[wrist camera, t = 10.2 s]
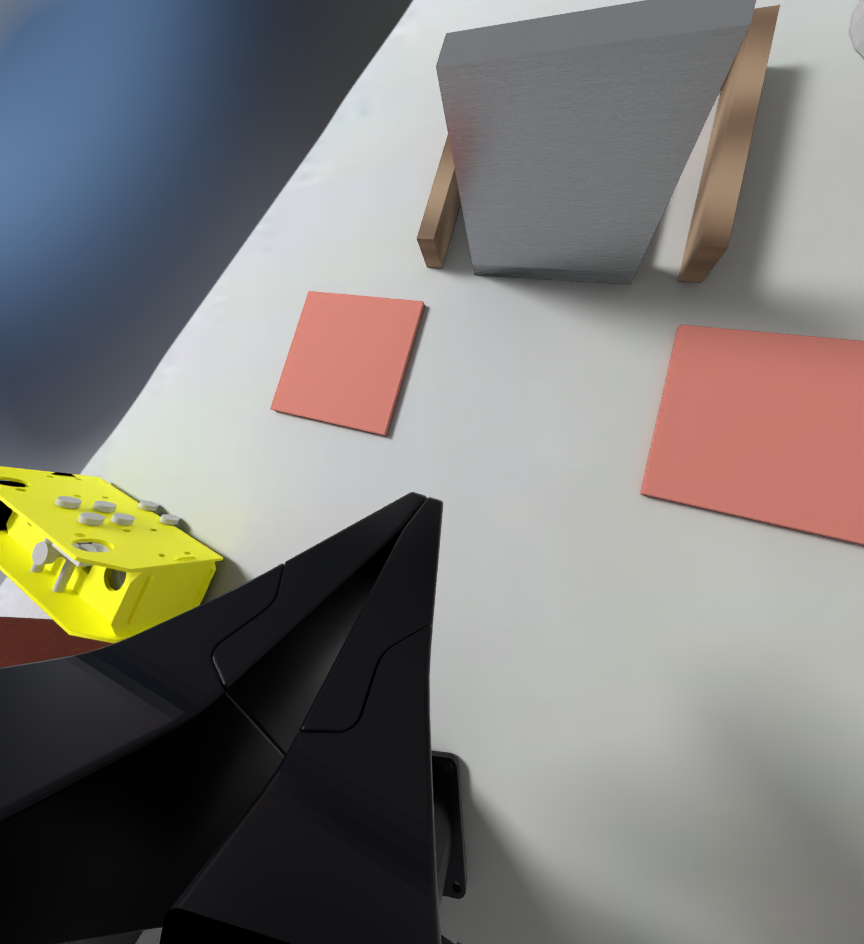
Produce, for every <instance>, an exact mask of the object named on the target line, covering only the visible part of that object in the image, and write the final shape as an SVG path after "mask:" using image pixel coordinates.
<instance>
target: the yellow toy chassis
mask: <svg viewBox="0 0 864 944" xmlns="http://www.w3.org/2000/svg"><path fill="white" fill-rule="evenodd" d="M0 480H9V481H0V570H1V571H2V572H3V573H4V574H5V575H6V576H7V577H8V578H9V579H11V580H12V581H13V582H14V583H15V584H16V585H17V586H18V587H19V588H20V589H21V590H22V591H23V592H24V593H25V594H26V595H27V596H29V597H30V598H31V599H32V600H33V601H34V602H35V603H36V604H37V605H38V606H39V607H40V608H41V609H42V610H43V611H44V612H45V613H47V614H48V615H49V616H50V617H51V618H52V619H53V620H54V621H55V622H56V623H57V624H58V625H59V626H60V627H61V628H62V629H63V630H64V631H66V632H67V633H68V634H69V635H73V636H78V637H83V638H88V639H94V640H99V641H104V642H109V643H117V642H119V641H122V640H124V639H127V638H129V637H131V636H134V635H136V634H138V633H140V632H142V631H145V630H147V629H149V628H151V627H153V626H156V625H158V624H160V623H162V622H164V621H167V620H169V619H171V618H173V617H175V616H177V615H180V614H182V613H184V612H186V611H188V610H191V609H193V608H195V607H197V606H199V605H200V603H201V602H202V600H203V598H204V595H205V593H206V591H207V589H208V587H209V584H210V582H211V580H212V578H213V576H214V573H215V571H216V566H215V561H222V560H223V557H221V556H220V555H218V554H217V553H215V552H214V551H212V550H211V549H209V548H208V547H206V546H204V545H203V544H201V543H200V542H198V541H197V540H195V539H194V538H192V537H191V536H189V535H188V534H186V533H184V532H183V531H181V530H180V529H178V528H177V527H175V526H174V525H176V524H177V523H178V521H179V518H178V517H176V516H174V515H169V514H163V515H162V516H161V517H160V516H158V515H157V514H155V513H154V512H152V511H155V510H156V509H157V506H158V504H156V503H154V502H150V501H140V503H138V502H137V501H135V500H134V499H132V498H131V497H129V496H127V495H126V494H124V493H123V492H121V491H120V490H118V489H117V488H115V487H114V486H112V485H111V484H109V483H107V482H106V481H104V480H103V479H101V478H100V477H94V476H85V475H75V474H67V473H58V472H47V471H37V470H29V469H20V468H10V467H1V466H0Z"/></svg>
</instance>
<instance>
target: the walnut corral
mask: <svg viewBox="0 0 864 944" xmlns="http://www.w3.org/2000/svg"><path fill="white" fill-rule="evenodd" d="M779 7H780V5H777V6H770V7H763V8H756V9H754V12H753V16H752V20H751V24H750V27H749V29H748V31H747V33H746V35H745V37H744V40H743V42H742V44H741V46H740V48H739V50H738V53H737V55H736V57H735V59H734V61H733V63H732V66H731V68H730V70H729V72H728V74H727V76H726V79H725V81H724V83H723V85H722V89H721V94H720V98H719V103H718V107H717V111H716V116H715V120H714V125H713V129H712V133H711V138H710V142H709V147H708V151H707V156H706V160H705V164H704V169H703V173H702V178H701V182H700V186H699V191H698V195H697V200H696V204H695V208H694V213H693V217H692V222H691V226H690V231H689V235H688V239H687V244H686V248H685V253H684V257H683V261H682V266H681V270H680V275H679V279H678V281H684V282H702V281H703V280H704V279H705V277H706V276H707V275H708V273H709V272H710V271H711V269H712V268H713V267H714V265H715V264H716V263H717V261H718V260H719V259H720V257H721V256H722V255H723V253H724V252H725V251H726V249H727V248H728V244H729V240H730V235H731V230H732V226H733V221H734V216H735V212H736V207H737V202H738V198H739V193H740V188H741V184H742V179H743V174H744V170H745V165H746V161H747V156H748V151H749V147H750V142H751V137H752V133H753V128H754V123H755V119H756V114H757V109H758V105H759V100H760V95H761V91H762V86H763V82H764V77H765V72H766V68H767V63H768V58H769V54H770V49H771V44H772V40H773V35H774V30H775V26H776V21H777V16H778V12H779ZM460 205H461V200H460V195H459V190H458V184H457V179H456V173H455V168H454V162H453V157H452V151H451V146H450V140H449V135H448V136H447V140H446V143H445V146H444V150H443V153H442V156H441V160H440V163H439V166H438V170H437V173H436V176H435V179H434V183H433V186H432V189H431V193H430V196H429V199H428V203H427V206H426V209H425V213H424V216H423V219H422V223H421V226H420V229H419V233H418V236H417V241H418V244H419V246H420V249H421V252H422V255H423V257H424V260H425V263H426V266H427V267H436V268H442V267H443V263H444V260H445V256H446V253H447V249H448V246H449V243H450V239H451V236H452V232H453V229H454V225H455V222H456V219H457V215H458V212H459V208H460Z"/></svg>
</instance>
